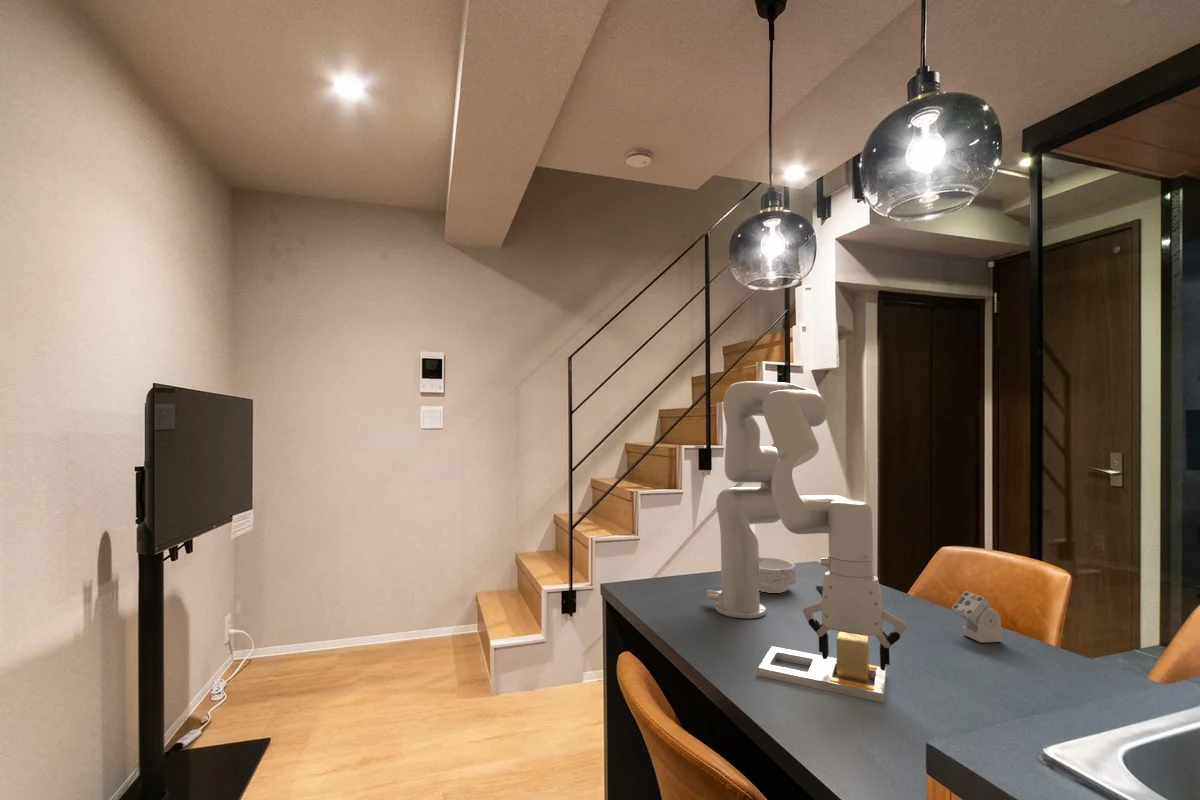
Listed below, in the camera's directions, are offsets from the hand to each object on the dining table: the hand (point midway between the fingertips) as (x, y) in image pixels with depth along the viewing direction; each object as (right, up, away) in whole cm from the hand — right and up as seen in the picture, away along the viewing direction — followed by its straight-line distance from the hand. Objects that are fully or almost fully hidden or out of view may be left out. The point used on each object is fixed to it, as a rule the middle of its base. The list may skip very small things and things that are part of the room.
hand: (853, 662), depth 100 cm
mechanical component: (+37, -5, +21) cm, 43 cm away
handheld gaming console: (+21, -8, +55) cm, 60 cm away
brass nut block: (0, -4, 0) cm, 4 cm away
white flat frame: (-5, -4, +3) cm, 7 cm away
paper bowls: (+3, -8, +60) cm, 60 cm away
